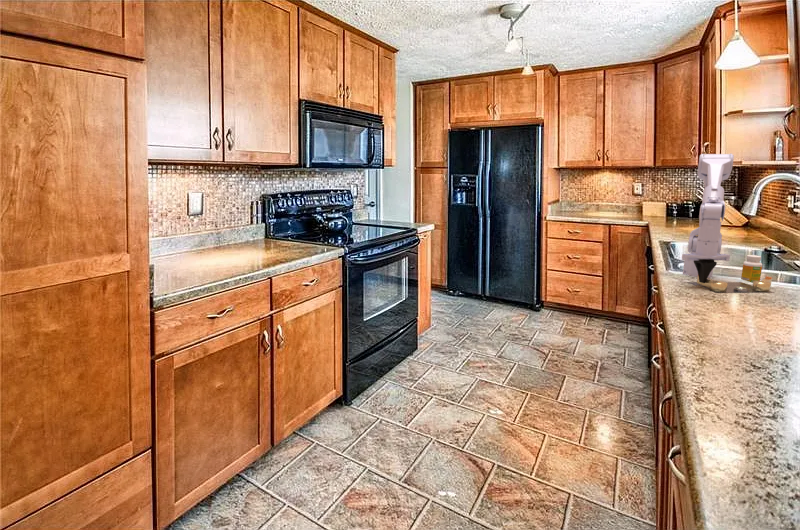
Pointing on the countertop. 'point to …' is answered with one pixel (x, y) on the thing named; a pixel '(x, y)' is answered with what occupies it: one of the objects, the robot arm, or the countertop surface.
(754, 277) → the supplement bottle
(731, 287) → the grey metal plate
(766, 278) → the knob
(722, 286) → the knob
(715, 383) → the countertop surface
